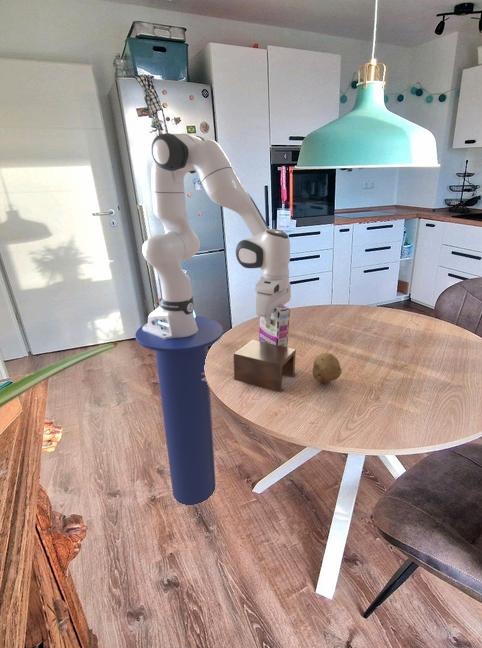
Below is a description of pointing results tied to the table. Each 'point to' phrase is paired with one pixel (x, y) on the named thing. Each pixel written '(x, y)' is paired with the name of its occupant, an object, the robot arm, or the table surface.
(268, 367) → the walnut shelf
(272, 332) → the candy bar box
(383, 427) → the table surface
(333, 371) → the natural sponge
